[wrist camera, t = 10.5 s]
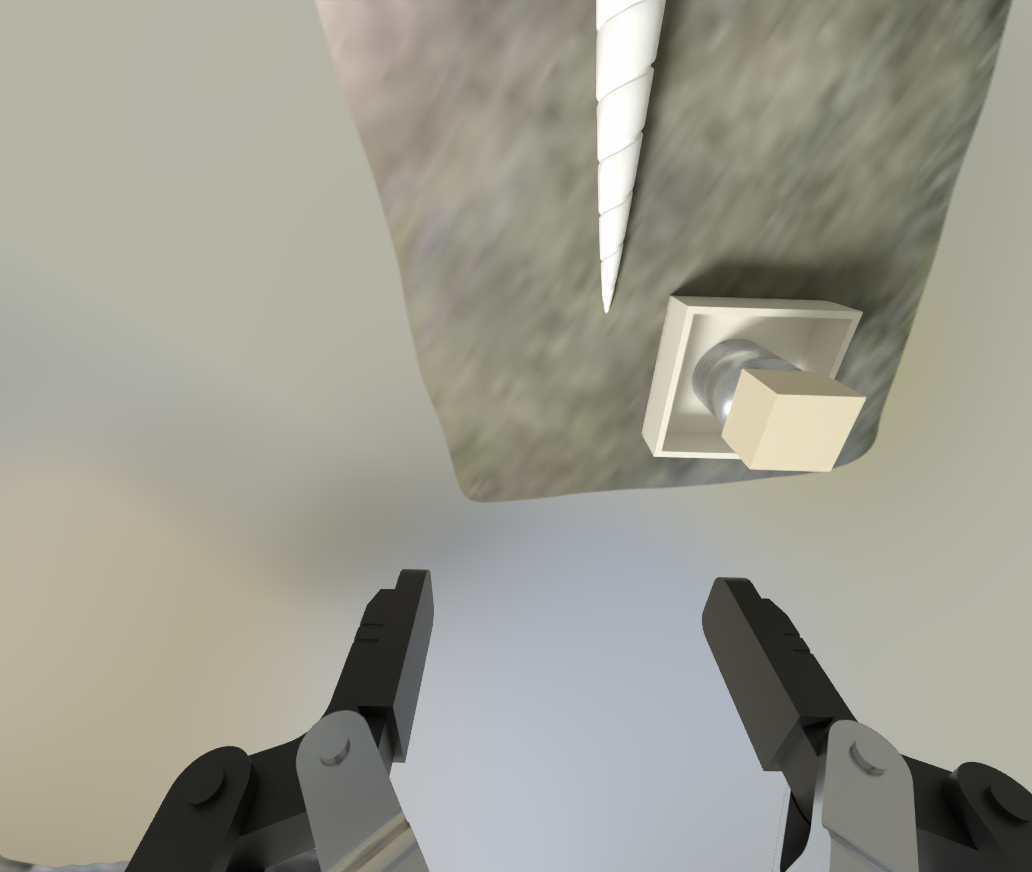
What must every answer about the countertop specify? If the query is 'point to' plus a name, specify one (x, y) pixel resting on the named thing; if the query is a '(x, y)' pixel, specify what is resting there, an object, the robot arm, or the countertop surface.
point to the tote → (711, 320)
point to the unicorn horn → (621, 115)
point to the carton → (790, 419)
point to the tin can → (730, 372)
